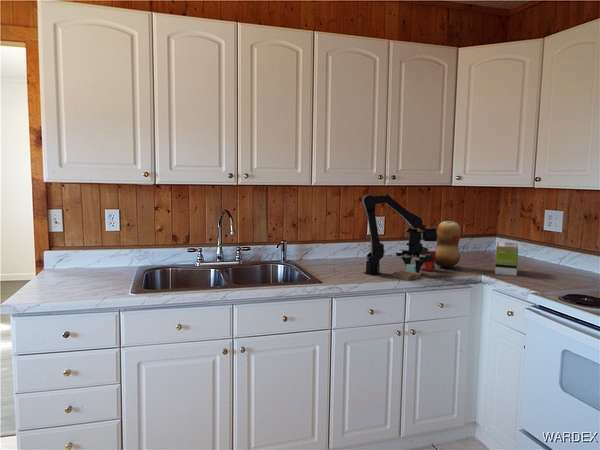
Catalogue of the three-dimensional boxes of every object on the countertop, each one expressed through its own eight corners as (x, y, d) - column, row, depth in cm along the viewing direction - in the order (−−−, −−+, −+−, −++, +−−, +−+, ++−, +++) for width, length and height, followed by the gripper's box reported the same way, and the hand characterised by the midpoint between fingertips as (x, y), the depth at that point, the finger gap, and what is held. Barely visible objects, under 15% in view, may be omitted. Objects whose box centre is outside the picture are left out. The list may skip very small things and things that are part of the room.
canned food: (435, 272, 211) (436, 250, 210) (419, 271, 213) (420, 250, 212) (433, 268, 219) (434, 248, 218) (418, 268, 220) (419, 247, 219)
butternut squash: (445, 271, 213) (447, 223, 211) (427, 266, 226) (429, 220, 223) (465, 268, 219) (467, 222, 216) (447, 264, 231) (449, 219, 229)
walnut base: (408, 280, 193) (408, 276, 193) (393, 276, 200) (393, 272, 200) (420, 277, 198) (420, 273, 198) (405, 274, 205) (405, 270, 205)
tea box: (495, 268, 221) (496, 241, 220) (516, 270, 217) (517, 242, 215) (494, 274, 208) (496, 245, 206) (516, 276, 203) (518, 246, 202)
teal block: (414, 275, 202) (414, 265, 202) (406, 273, 206) (406, 264, 206) (420, 274, 205) (421, 264, 205) (412, 272, 209) (412, 263, 209)
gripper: (440, 242, 201) (439, 273, 203) (410, 237, 216) (409, 267, 218) (426, 244, 195) (425, 276, 196) (395, 239, 210) (394, 269, 211)
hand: (413, 272), depth 206 cm, fingers closed on teal block, 5 cm apart
